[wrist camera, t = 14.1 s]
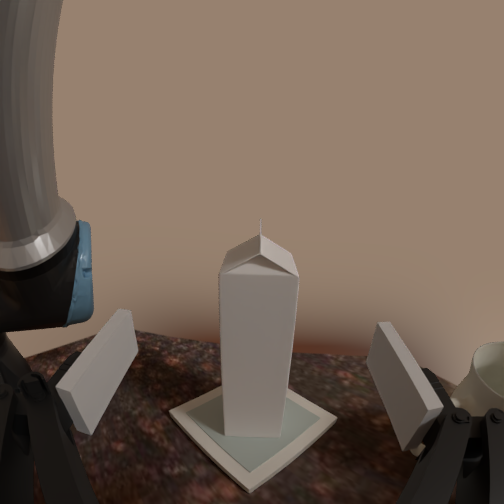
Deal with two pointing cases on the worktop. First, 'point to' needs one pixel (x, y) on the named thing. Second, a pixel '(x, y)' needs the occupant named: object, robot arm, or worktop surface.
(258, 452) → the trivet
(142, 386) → the worktop surface
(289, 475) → the worktop surface
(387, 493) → the worktop surface
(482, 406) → the pitcher
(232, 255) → the milk
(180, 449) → the worktop surface
